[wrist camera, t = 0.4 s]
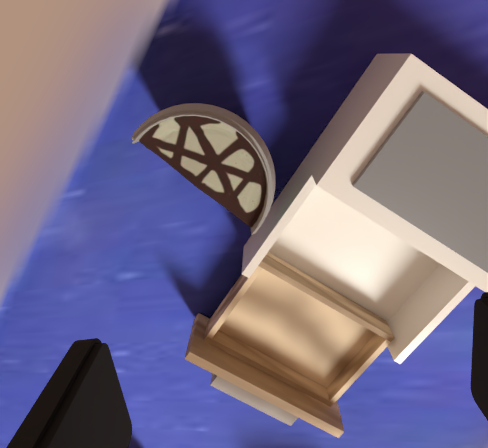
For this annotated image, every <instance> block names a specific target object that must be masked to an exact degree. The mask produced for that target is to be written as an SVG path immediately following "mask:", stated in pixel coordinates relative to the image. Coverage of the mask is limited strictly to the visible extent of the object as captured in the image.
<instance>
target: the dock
mask: <svg viewBox="0 0 488 448" xmlns="http://www.w3.org/2000/svg"><path fill="white" fill-rule="evenodd" d="M268 252H270V253H271V254H273V255H275V256H277V257H278V258H280V259H282V260H283V261H285V262H287V263H288V264H290V265H292V266H294V267H295V268H297V269H299V270H300V271H302V272H304V273H306V274H307V275H309V276H311V277H312V278H314V279H316V280H318V281H319V282H321V283H323V284H324V285H326V286H328V287H330V288H331V289H333V290H335V291H336V292H338V293H340V294H341V295H343V296H345V297H347V298H348V299H350V300H352V301H353V302H355V303H357V304H359V305H360V306H362V307H364V308H365V309H367V310H369V311H371V312H372V313H374V314H376V315H377V316H379V317H381V318H383V319H384V320H386V321H387V323H388V325H389V327H390V329H391V331H392V333H393V336H394V339H393V340H392V342H391V343H390V344H389V345H388V348H389V351H390V353H391V355H392V357H393V360H394V361H396V362H397V363H399V364H401V363H402V362H403V361H404V360H405V359H406V358H407V357H408V356H409V355H410V353H411V352H412V351H413V350H414V349H415V348H416V347H417V346H418V345H419V344H420V343H421V342H422V341H423V340H424V339H425V338H426V337H427V336H428V335H429V334H430V333H431V332H432V331H433V330H434V328H435V327H436V326H437V325H438V324H439V323H440V322H441V321H442V320H443V319H444V318H445V317H446V316H447V315H448V314H449V313H450V312H451V311H452V310H453V309H454V308H455V307H456V306H457V305H458V304H459V302H460V301H461V300H462V299H463V298H464V297H465V296H466V295H467V294H468V293H469V292H470V291H471V290H472V289H473V288H474V287H475V286H476V287H478V288H480V289H481V290H483V291H484V292H488V109H487V108H485V107H484V106H483V105H481V104H480V103H478V102H477V101H476V100H474V99H473V98H472V97H470V96H469V95H467V94H466V93H465V92H463V91H462V90H461V89H459V88H458V87H457V86H455V85H454V84H452V83H451V82H450V81H448V80H447V79H446V78H444V77H443V76H441V75H440V74H439V73H437V72H436V71H435V70H433V69H432V68H430V67H429V66H428V65H426V64H425V63H424V62H422V61H421V60H419V59H418V58H417V57H415V56H414V55H413V54H376V56H375V57H374V59H373V60H372V62H371V63H370V64H369V66H368V67H367V69H366V70H365V72H364V73H363V75H362V76H361V78H360V79H359V80H358V82H357V83H356V85H355V86H354V88H353V89H352V91H351V92H350V93H349V95H348V96H347V98H346V99H345V101H344V102H343V104H342V105H341V106H340V108H339V109H338V111H337V112H336V114H335V115H334V117H333V118H332V119H331V121H330V122H329V124H328V125H327V127H326V128H325V130H324V131H323V132H322V134H321V135H320V137H319V138H318V140H317V141H316V143H315V144H314V146H313V147H312V148H311V150H310V151H309V153H308V154H307V156H306V157H305V159H304V160H303V161H302V163H301V164H300V166H299V167H298V169H297V170H296V172H295V173H294V174H293V176H292V177H291V179H290V180H289V182H288V183H287V185H286V186H285V187H284V189H283V190H282V192H281V193H280V195H279V196H278V198H277V199H276V201H275V202H274V203H273V205H272V206H271V208H270V211H269V213H268V215H267V216H266V218H265V220H264V222H263V224H262V225H261V227H260V228H259V229H258V231H257V232H256V233H255V234H253V235H251V237H250V238H249V240H248V241H247V242H246V244H245V245H244V248H243V262H242V275H244V276H246V277H248V278H250V276H251V275H252V274H253V272H254V271H255V269H256V268H257V267H258V265H259V264H260V262H261V261H262V260H263V258H264V257H265V255H266V254H267V253H268Z"/></svg>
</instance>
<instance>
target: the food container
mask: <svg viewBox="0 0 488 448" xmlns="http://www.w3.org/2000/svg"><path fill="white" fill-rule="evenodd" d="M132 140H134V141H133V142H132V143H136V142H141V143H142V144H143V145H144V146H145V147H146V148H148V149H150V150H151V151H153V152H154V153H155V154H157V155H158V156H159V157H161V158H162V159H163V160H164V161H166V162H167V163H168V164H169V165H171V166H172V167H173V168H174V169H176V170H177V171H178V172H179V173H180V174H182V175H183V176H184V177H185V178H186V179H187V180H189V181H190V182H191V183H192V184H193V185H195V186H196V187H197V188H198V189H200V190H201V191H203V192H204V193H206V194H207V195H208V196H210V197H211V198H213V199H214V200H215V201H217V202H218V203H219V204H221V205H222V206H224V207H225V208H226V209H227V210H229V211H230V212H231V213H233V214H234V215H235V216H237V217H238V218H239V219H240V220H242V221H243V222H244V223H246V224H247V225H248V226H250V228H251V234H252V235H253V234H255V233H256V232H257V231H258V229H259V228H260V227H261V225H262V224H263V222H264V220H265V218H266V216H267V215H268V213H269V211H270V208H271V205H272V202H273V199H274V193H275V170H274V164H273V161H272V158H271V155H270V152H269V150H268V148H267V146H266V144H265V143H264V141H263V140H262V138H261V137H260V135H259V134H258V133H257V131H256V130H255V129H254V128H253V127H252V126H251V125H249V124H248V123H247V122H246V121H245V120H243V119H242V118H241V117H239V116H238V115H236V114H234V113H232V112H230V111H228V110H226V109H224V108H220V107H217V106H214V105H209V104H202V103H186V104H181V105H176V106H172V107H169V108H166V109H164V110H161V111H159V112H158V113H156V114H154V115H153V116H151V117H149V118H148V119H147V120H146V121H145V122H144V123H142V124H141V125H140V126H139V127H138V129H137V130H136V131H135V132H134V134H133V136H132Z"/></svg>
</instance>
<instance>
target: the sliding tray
mask: <svg viewBox="0 0 488 448" xmlns="http://www.w3.org/2000/svg"><path fill="white" fill-rule="evenodd" d="M393 339H394V336H393V333H392V331H391V329H390V327H389V325H388V323H387V321H386V320H384V319H383V318H381V317H379V316H377V315H376V314H374V313H372V312H371V311H369V310H367V309H365V308H364V307H362V306H360V305H359V304H357V303H355V302H353V301H352V300H350V299H348V298H347V297H345V296H343V295H341V294H340V293H338V292H336V291H335V290H333V289H331V288H330V287H328V286H326V285H324V284H323V283H321V282H319V281H318V280H316V279H314V278H312V277H311V276H309V275H307V274H306V273H304V272H302V271H300V270H299V269H297V268H295V267H294V266H292V265H290V264H288V263H287V262H285V261H283V260H282V259H280V258H278V257H277V256H275V255H273V254H271V253H270V252H268V253H267V254H266V255H265V257H264V258H263V260H262V261H261V262H260V264H259V265H258V267H257V268H256V269H255V271H254V272H253V274H252V275H251V276H250V278H248V277H246V276H244V275H242V274H241V276H240V277H239V279H238V280H237V281H236V283H235V284H234V286H233V287H232V288H231V290H230V291H229V293H228V294H227V296H226V297H225V298H224V300H223V301H222V303H221V304H220V305H219V307H218V308H217V310H216V311H215V312H214V314H213V315H212V317H211V318H210V319H209V318H207V317H206V316H204V315H202V314H200V313H198V314H197V316H196V317H195V319H194V322H193V326H192V330H191V335H190V339H189V343H188V347H187V351H186V355H185V359H186V360H188V361H190V362H191V363H193V364H195V365H197V366H199V367H201V368H203V369H205V370H207V371H209V372H211V373H212V377H211V384H210V385H211V386H213V387H215V388H217V389H219V390H221V391H223V392H225V393H227V394H229V395H231V396H232V397H234V398H236V399H238V400H240V401H242V402H244V403H246V404H248V405H250V406H252V407H254V408H256V409H258V410H260V411H262V412H264V413H266V414H268V415H270V416H272V417H274V418H276V419H278V420H280V421H282V422H284V423H286V424H288V425H290V426H291V425H292V424H293V423H294V422H295V421H296V420H297V418H298V417H299V418H301V419H303V420H304V421H306V422H308V423H310V424H312V425H314V426H316V427H318V428H320V429H322V430H324V431H326V432H328V433H330V434H332V435H334V436H336V437H338V438H339V437H340V436H341V435H342V434H343V433H344V428H343V424H342V420H341V415H340V411H339V407H338V402H337V400H338V399H339V398H340V397H341V395H342V394H343V393H344V392H345V391H346V390H347V389H348V388H349V387H350V386H351V385H352V384H353V382H354V381H355V380H356V379H357V378H358V377H359V376H360V375H361V374H362V373H363V372H364V371H365V370H366V368H367V367H368V366H369V365H370V364H371V363H372V362H373V361H374V360H375V359H376V358H377V357H378V356H379V354H380V353H381V352H382V351H383V350H384V349H385V348H386V347H387V346H388V345H389V344H390V343H391V342H392V340H393Z"/></svg>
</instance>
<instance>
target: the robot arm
mask: <svg viewBox="0 0 488 448" xmlns="http://www.w3.org/2000/svg"><path fill="white" fill-rule="evenodd" d="M471 392H472V395H473V398H474V400H475V402H476V404H477V405H478V407H479V408H480V410H481V411H482V413H483V414H484V416H485V417H486V419H487V420H488V292H485V293H483V294H482V296H481V299H477V300H476V301H475V305H474V326H473V348H472V370H471ZM131 435H132V424H131V420H130V417H129V413H128V410H127V407H126V403H125V400H124V397H123V393H122V390H121V387H120V383H119V380H118V377H117V373H116V370H115V367H114V363H113V360H112V357H111V353H110V350H109V347H108V345H107V344H106V343H101V341H100V340H99V339H97V338H95V339H87V340H78V341H75V342H74V343H73V344H72V346H71V347H70V349H69V350H68V352H67V354H66V355H65V357H64V358H63V360H62V361H61V363H60V365H59V366H58V368H57V369H56V371H55V372H54V374H53V375H52V377H51V379H50V380H49V382H48V383H47V385H46V386H45V388H44V390H43V391H42V393H41V394H40V396H39V397H38V399H37V401H36V402H35V404H34V405H33V407H32V408H31V410H30V412H29V413H28V415H27V416H26V418H25V419H24V421H23V423H22V424H21V426H20V427H19V429H18V430H17V432H16V434H15V435H14V437H13V438H12V440H11V441H10V443H9V445H8V446H7V448H128V446H129V442H130V439H131Z"/></svg>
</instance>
